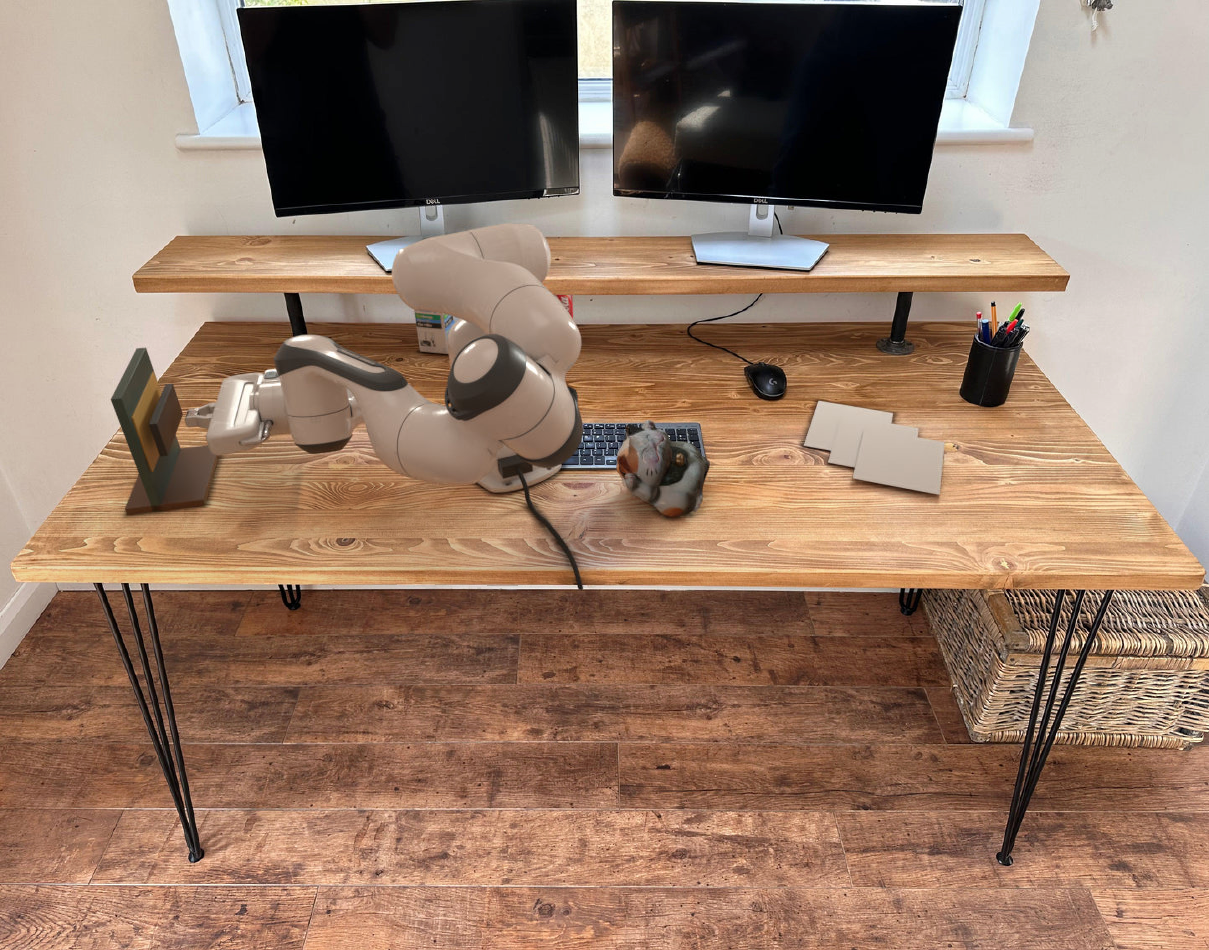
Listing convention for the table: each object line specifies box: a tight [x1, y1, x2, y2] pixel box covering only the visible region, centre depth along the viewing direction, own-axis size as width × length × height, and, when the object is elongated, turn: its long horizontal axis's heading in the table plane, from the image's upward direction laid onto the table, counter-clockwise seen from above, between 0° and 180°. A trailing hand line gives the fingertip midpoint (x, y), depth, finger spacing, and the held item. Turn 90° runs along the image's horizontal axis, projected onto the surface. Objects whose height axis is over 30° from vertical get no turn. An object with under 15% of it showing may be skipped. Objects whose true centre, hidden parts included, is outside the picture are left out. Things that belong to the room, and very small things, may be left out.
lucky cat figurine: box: [615, 419, 711, 518], centre depth 142 cm, size 15×12×14 cm
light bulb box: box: [413, 309, 459, 355], centre depth 189 cm, size 11×7×11 cm, turn 168°
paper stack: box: [803, 400, 946, 496], centre depth 156 cm, size 23×25×1 cm
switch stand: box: [110, 347, 220, 516], centre depth 144 cm, size 12×17×21 cm
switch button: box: [149, 383, 184, 456], centre depth 143 cm, size 1×13×6 cm, turn 11°
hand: (186, 418), depth 144 cm, fingers closed
